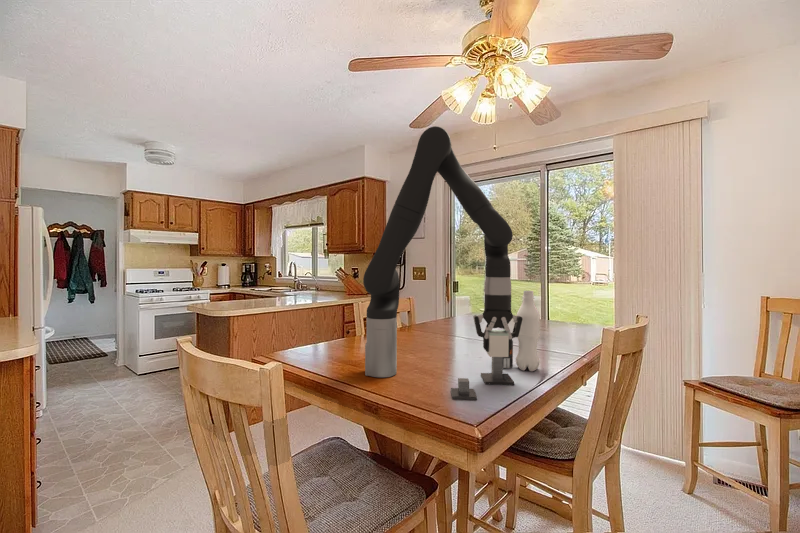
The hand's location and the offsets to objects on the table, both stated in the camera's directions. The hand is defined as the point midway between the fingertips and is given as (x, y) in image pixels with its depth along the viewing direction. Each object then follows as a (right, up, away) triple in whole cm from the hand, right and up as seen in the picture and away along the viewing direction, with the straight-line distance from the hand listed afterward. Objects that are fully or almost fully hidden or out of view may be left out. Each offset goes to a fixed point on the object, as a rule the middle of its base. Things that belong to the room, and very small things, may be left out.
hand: (497, 351), depth 108 cm
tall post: (0, -8, 0) cm, 8 cm away
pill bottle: (+6, -8, +15) cm, 18 cm away
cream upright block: (0, -1, 0) cm, 1 cm away
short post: (-12, -9, -12) cm, 19 cm away
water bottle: (+13, -9, +11) cm, 19 cm away
